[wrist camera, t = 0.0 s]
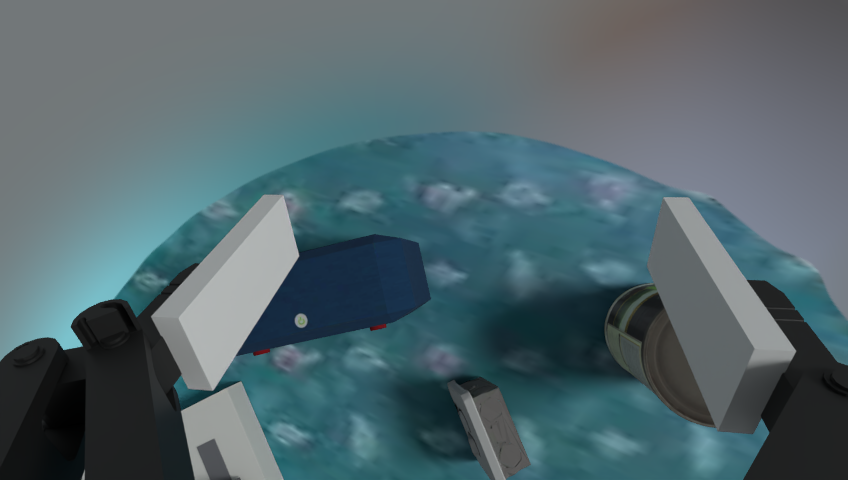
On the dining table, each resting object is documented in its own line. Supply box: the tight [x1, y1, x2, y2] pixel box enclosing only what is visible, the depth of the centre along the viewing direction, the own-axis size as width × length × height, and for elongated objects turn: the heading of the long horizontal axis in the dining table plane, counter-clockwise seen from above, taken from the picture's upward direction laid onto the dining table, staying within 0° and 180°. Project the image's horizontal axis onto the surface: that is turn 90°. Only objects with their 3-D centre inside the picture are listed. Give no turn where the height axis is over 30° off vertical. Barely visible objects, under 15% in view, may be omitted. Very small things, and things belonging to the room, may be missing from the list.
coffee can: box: [605, 283, 716, 428], centre depth 42 cm, size 10×10×14 cm
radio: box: [236, 234, 431, 356], centre depth 45 cm, size 21×9×20 cm, turn 103°
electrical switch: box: [447, 377, 531, 480], centre depth 47 cm, size 9×5×9 cm, turn 23°
